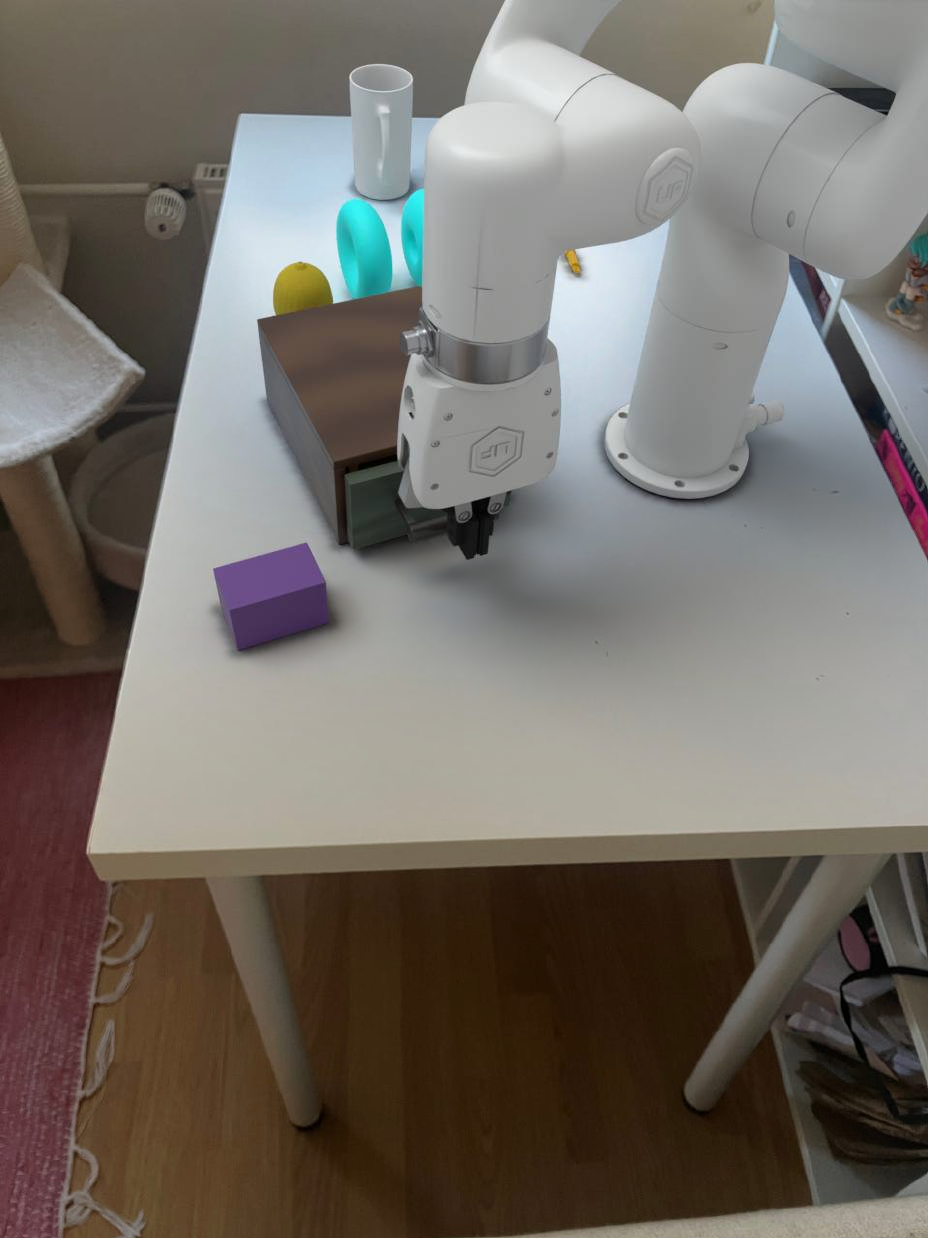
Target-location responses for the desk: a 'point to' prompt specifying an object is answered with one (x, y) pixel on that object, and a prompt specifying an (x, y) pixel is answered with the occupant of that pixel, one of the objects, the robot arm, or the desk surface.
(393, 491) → the drawer
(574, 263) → the purple and yellow tool
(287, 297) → the lemon
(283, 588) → the purple block
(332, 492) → the desk cabinet
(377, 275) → the donuts
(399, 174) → the mug
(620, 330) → the desk surface
